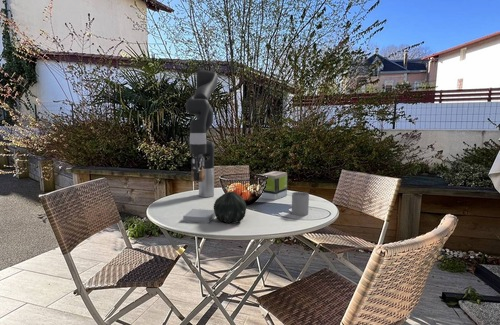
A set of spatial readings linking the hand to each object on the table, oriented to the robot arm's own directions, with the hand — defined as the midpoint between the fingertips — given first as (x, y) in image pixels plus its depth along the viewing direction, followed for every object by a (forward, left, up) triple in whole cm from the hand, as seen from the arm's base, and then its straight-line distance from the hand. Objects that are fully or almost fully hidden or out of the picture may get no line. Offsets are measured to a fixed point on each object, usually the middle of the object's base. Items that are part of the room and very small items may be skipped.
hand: (198, 179), depth 145 cm
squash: (+1, +15, -19) cm, 24 cm away
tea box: (-50, +31, -19) cm, 62 cm away
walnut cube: (0, 0, 0) cm, 0 cm away
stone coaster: (0, +1, -18) cm, 18 cm away
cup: (-18, +47, -19) cm, 53 cm away
